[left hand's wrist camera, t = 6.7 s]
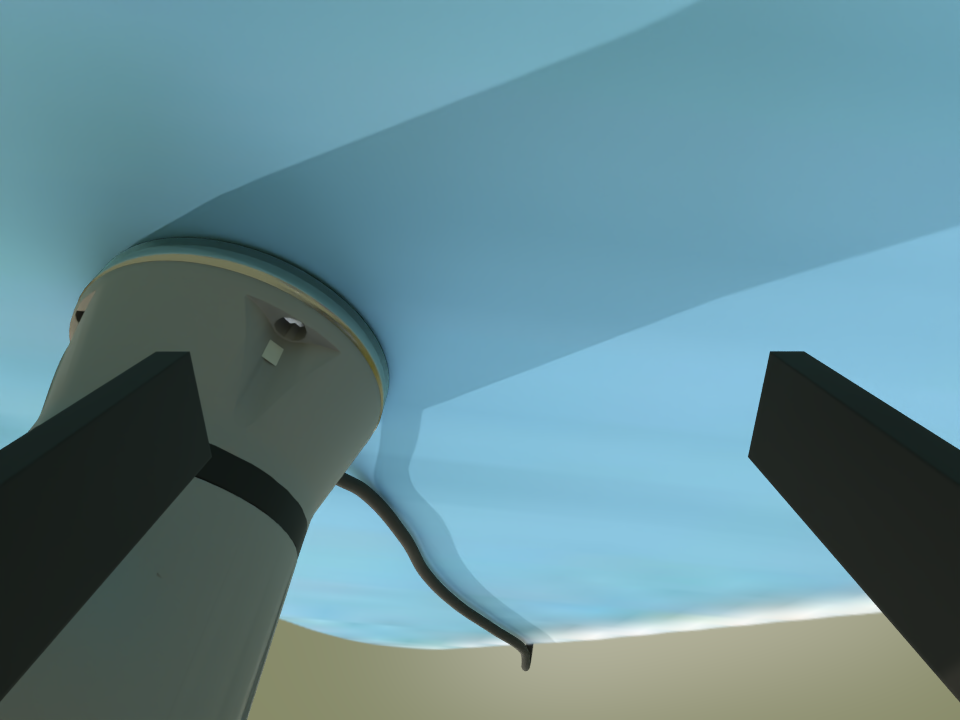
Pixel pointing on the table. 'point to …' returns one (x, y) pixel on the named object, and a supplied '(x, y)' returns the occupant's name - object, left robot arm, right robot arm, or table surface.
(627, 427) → the table surface
